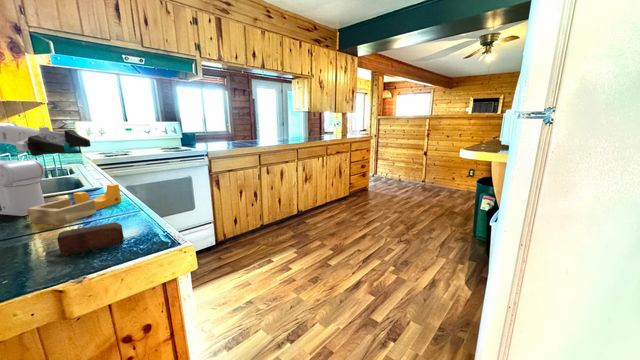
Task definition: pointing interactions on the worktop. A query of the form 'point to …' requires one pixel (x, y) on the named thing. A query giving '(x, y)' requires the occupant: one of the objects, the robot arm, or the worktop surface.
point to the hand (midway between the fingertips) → (76, 146)
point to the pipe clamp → (101, 197)
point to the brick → (89, 238)
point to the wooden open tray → (60, 212)
